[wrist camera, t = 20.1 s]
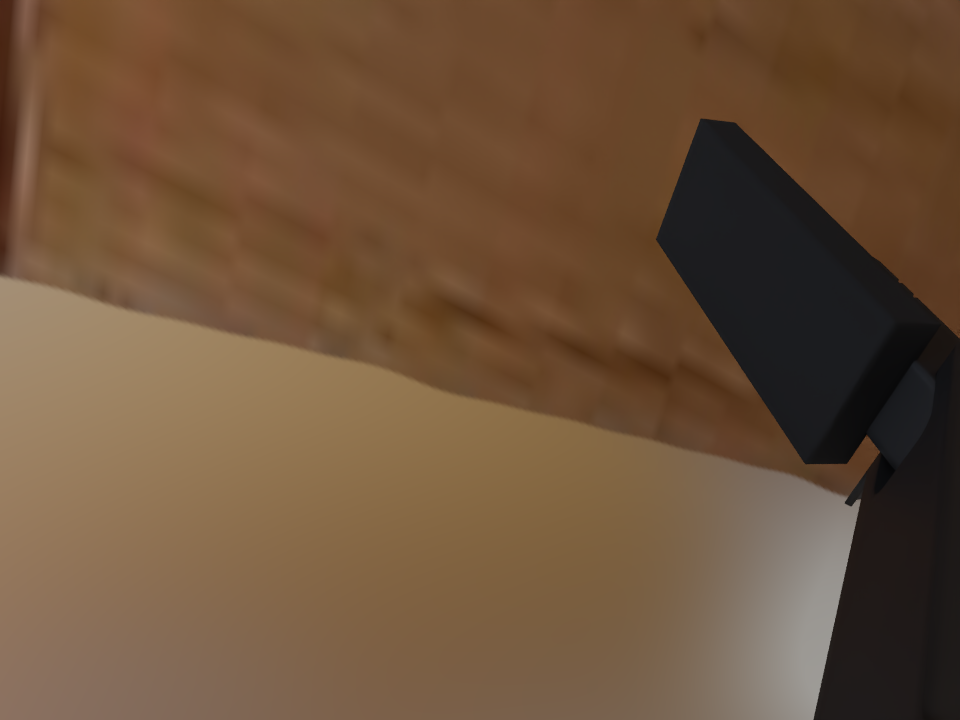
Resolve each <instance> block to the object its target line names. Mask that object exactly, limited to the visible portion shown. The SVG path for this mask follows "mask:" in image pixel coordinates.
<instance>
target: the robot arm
mask: <svg viewBox="0 0 960 720" xmlns="http://www.w3.org/2000/svg"><path fill="white" fill-rule="evenodd" d="M656 240H657V242H658V243H659V245H660V246H661V248H662V249H663V251H664V252H665V254H666V255H667V257H668V258H669V260H670V261H671V263H672V264H673V266H674V267H675V269H676V270H677V272H678V273H679V275H680V276H681V278H682V279H683V281H684V282H685V284H686V285H687V287H688V288H689V290H690V291H691V293H692V294H693V296H694V297H695V299H696V300H697V302H698V303H699V305H700V306H701V308H702V310H703V311H704V313H705V314H706V316H707V317H708V319H709V320H710V322H711V323H712V325H713V326H714V328H715V329H716V331H717V332H718V334H719V335H720V337H721V338H722V340H723V341H724V343H725V344H726V346H727V347H728V349H729V350H730V352H731V353H732V355H733V356H734V358H735V359H736V361H737V362H738V364H739V365H740V367H741V368H742V370H743V371H744V373H745V374H746V376H747V377H748V379H749V380H750V382H751V383H752V385H753V386H754V388H755V389H756V391H757V392H758V394H759V395H760V397H761V398H762V400H763V401H764V403H765V404H766V406H767V407H768V409H769V410H770V412H771V413H772V415H773V416H774V418H775V419H776V421H777V422H778V424H779V425H780V427H781V428H782V430H783V431H784V433H785V434H786V436H787V437H788V439H789V440H790V442H791V443H792V445H793V446H794V448H795V449H796V451H797V453H798V454H799V456H800V457H801V459H802V460H803V462H804V463H805V464H847V463H848V461H849V460H850V458H851V457H852V456H853V454H854V453H855V451H856V450H857V448H858V447H859V445H860V444H861V442H862V441H863V439H864V438H865V436H866V435H868V437H869V438H870V439H871V440H872V442H873V443H874V444H875V446H876V447H877V448H878V450H879V451H880V453H879V454H878V456H877V457H876V459H875V460H874V462H873V463H872V464H871V466H870V467H869V469H868V470H867V471H866V473H865V474H864V476H863V477H862V478H861V480H860V481H859V483H858V484H857V486H856V487H855V488H854V490H853V491H852V493H851V494H850V495H849V497H848V498H847V500H846V501H845V504H847V505H849V506H852V505H853V504H854V502H855V501H856V500H857V499H861V503H860V507H859V512H858V517H857V521H856V526H855V531H854V535H853V540H852V544H851V550H850V553H849V558H848V563H847V567H846V572H845V577H844V582H843V586H842V590H841V595H840V600H839V605H838V609H837V614H836V618H835V623H834V627H833V632H832V637H831V641H830V646H829V651H828V655H827V660H826V665H825V669H824V674H823V679H822V683H821V688H820V692H819V697H818V702H817V706H816V711H815V716H814V720H960V339H959V338H958V337H957V336H956V335H955V334H954V333H953V332H952V331H951V330H950V329H949V328H948V327H947V326H946V325H945V324H944V323H943V322H942V321H941V320H940V319H939V318H938V317H937V316H936V315H935V314H934V313H932V312H931V311H930V310H929V309H928V308H927V307H926V306H925V305H924V304H923V303H922V302H921V301H920V300H919V299H918V298H914V297H913V295H914V294H913V293H912V292H911V291H910V290H909V289H908V288H907V287H906V286H905V285H904V284H903V283H899V282H898V280H899V279H898V278H897V277H895V276H894V275H893V274H892V273H891V272H890V271H889V270H888V269H887V268H886V267H885V266H884V265H883V264H882V263H881V262H880V261H878V260H877V259H875V258H874V257H872V256H871V255H870V254H869V253H868V252H867V251H866V250H865V249H864V248H863V247H862V246H861V245H860V244H859V243H858V242H857V241H856V240H855V239H854V238H853V237H852V236H851V235H850V234H849V233H847V232H846V231H845V230H844V229H843V228H842V227H841V226H840V225H839V224H838V223H837V222H836V221H835V220H834V219H833V218H832V217H831V216H830V215H829V214H828V213H827V212H826V211H825V210H824V209H823V208H822V207H821V206H820V205H819V204H818V203H817V202H816V201H815V200H814V199H813V198H812V197H811V196H810V195H809V194H808V193H807V192H806V191H805V190H804V189H802V188H801V187H800V186H799V185H798V184H797V183H796V182H795V181H794V180H793V179H792V178H791V177H790V176H789V175H788V174H787V173H786V172H785V171H784V170H783V169H782V168H781V167H780V166H779V165H778V164H777V163H776V162H775V161H774V160H773V159H772V158H771V157H770V156H769V155H768V154H767V153H766V152H765V151H764V150H763V149H762V148H761V147H760V146H759V145H757V144H756V143H755V142H754V141H753V140H752V139H751V138H750V137H749V136H748V135H747V134H746V133H745V132H744V131H743V130H742V129H741V128H740V127H739V126H738V125H737V124H736V123H734V122H725V121H717V120H708V119H700V122H699V125H698V127H697V130H696V133H695V136H694V138H693V141H692V144H691V146H690V149H689V152H688V154H687V157H686V160H685V163H684V165H683V168H682V171H681V173H680V176H679V179H678V182H677V184H676V187H675V190H674V192H673V195H672V198H671V200H670V203H669V206H668V209H667V211H666V214H665V217H664V219H663V222H662V225H661V228H660V230H659V233H658V236H657V238H656Z"/></svg>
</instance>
